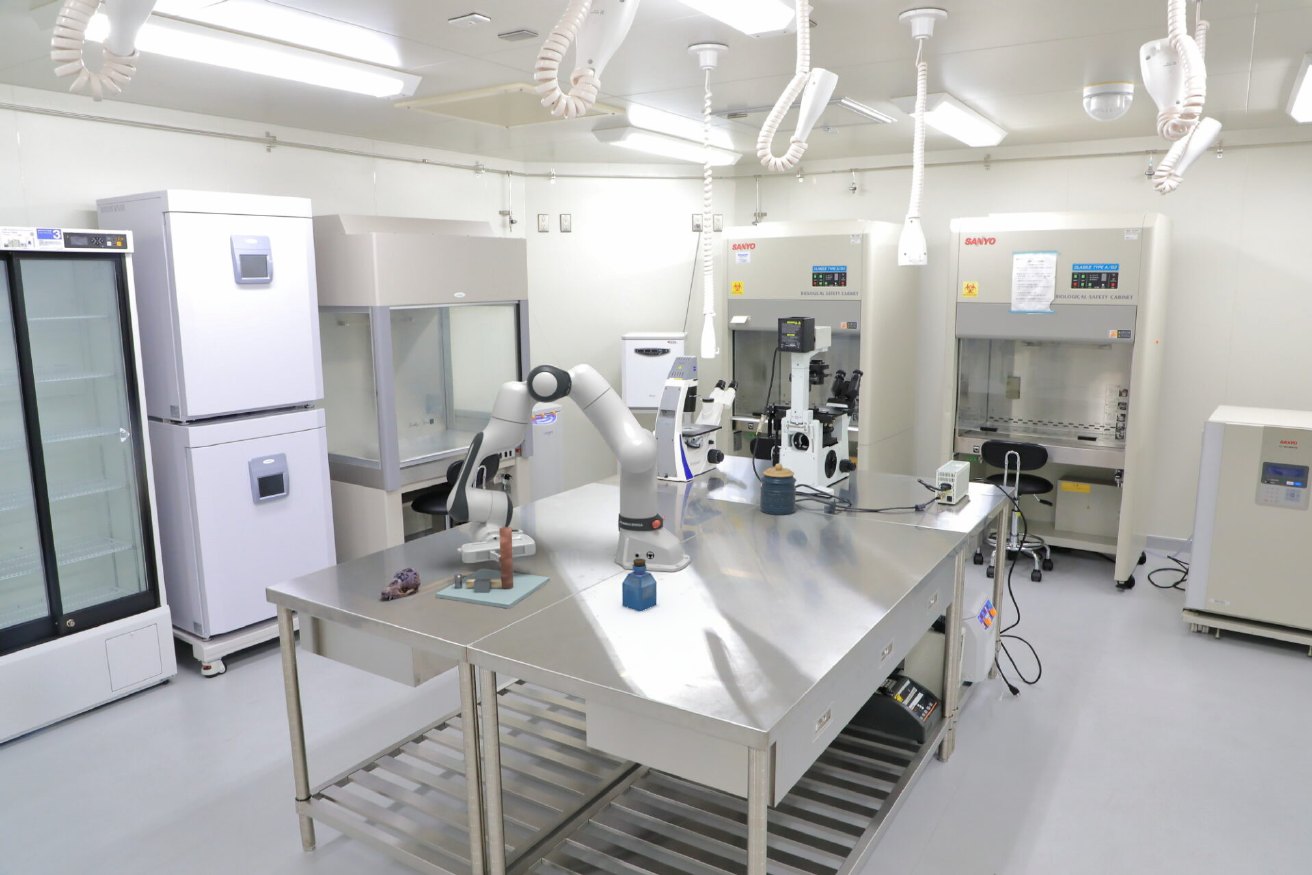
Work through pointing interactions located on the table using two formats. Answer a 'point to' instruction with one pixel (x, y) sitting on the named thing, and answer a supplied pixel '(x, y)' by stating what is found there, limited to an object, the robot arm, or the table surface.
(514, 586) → the board
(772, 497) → the canister
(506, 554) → the brown piece
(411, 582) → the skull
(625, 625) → the table surface
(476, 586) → the block
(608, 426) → the robot arm
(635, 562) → the perfume bottle
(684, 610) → the table surface
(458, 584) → the hinge pin
